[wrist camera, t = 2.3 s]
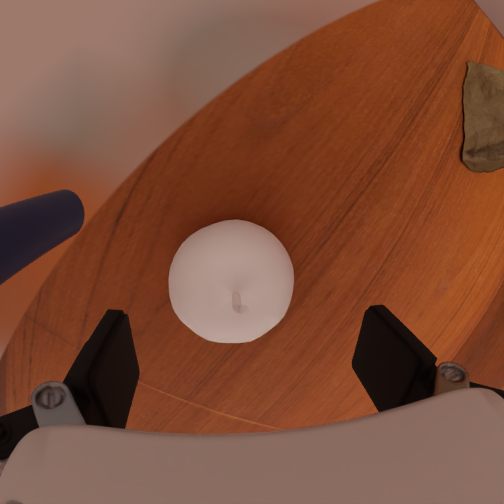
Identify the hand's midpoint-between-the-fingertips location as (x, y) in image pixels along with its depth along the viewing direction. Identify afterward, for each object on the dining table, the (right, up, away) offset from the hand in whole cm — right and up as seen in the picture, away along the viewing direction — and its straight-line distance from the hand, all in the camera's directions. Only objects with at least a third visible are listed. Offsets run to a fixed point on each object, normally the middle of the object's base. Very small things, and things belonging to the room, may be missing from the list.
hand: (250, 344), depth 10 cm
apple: (-2, +3, +9) cm, 10 cm away
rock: (+21, +16, +8) cm, 28 cm away
